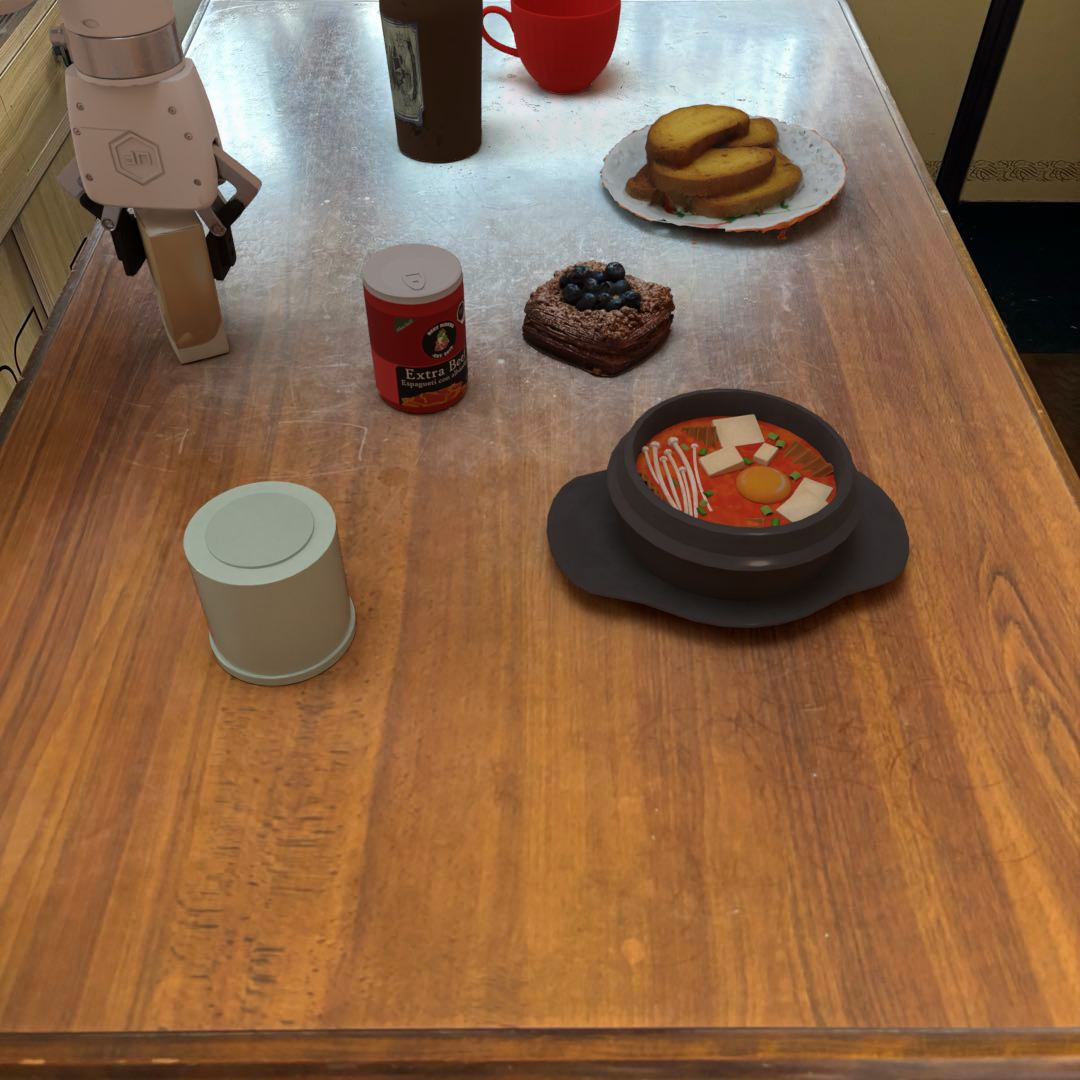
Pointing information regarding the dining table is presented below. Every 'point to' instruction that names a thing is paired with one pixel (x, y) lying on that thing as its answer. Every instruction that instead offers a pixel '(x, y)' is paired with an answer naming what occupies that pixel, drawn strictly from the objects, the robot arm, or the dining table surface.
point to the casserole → (728, 514)
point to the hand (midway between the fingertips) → (180, 268)
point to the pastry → (598, 318)
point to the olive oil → (435, 75)
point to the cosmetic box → (183, 282)
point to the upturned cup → (271, 582)
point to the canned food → (417, 326)
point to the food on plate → (723, 170)
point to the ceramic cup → (561, 40)
